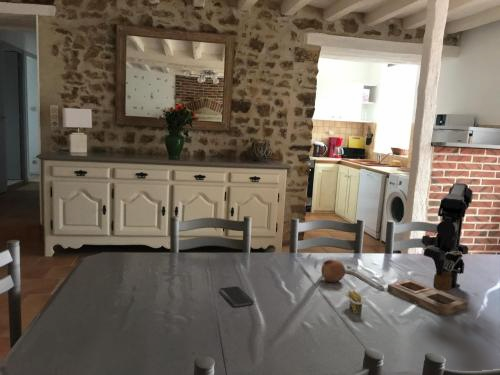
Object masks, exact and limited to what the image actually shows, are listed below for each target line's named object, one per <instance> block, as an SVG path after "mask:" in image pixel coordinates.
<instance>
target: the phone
mask: <svg viewBox="0 0 500 375" xmlns="http://www.w3.org/2000/svg"><path fill="white" fill-rule="evenodd" d="M219 293H220V294H221V295H222V296H223V297H224V298H225V299H226V300H227V302H228V303H229V304H230V305H231V306H232V307H234V308H238V307H246V306H252V305H254V302H255V301H254V300H253V299H252V298H251V297H250V296H249V295H248V294H247V293H246V292H245V291H244V290H242V288H241V287H240V286H227V287H220V288H219Z"/></svg>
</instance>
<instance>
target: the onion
mask: <svg viewBox="0 0 500 375" xmlns="http://www.w3.org/2000/svg"><path fill="white" fill-rule="evenodd" d="M321 275H322V277H323V279H324V280H325V281H326V282H329V283H335V282H336V283H337V282H341V281H342V280H343V278H344V276H345V275H346V273H345V265H344V264H343V262H341V261H340V260H336V259H328V260H325V261H324V262H323V264H322V265H321Z"/></svg>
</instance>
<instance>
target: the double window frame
mask: <svg viewBox="0 0 500 375" xmlns="http://www.w3.org/2000/svg"><path fill="white" fill-rule="evenodd" d="M386 289H387V291H388V292H389V293H392V294H394V295H395V296H398V297H401V298H403V299H405V300H407V301H410V302H412V303H413V304H417V305H419V306H420V307H423V308H425V309H428V310H430V311H432V312H435V313H436V314H439V315H441V316H444V317H446V316H447V315H451V314H454V313H458V312H459V311H462V310H465V309H467V308H468V303H469V302H468V301H467V300H464V299H462V298H460V297H457V296H455V295H452V294H449V293H447V292H445V291H439V290H437V289H435V288H434V287H431V286H429V285H426V284H424V283H421V282H419V281H416V280H414V279H411V278H409V279H406V280H401V281H397V282H393V283H389V284H387V288H386ZM444 303H445V304H444Z"/></svg>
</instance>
